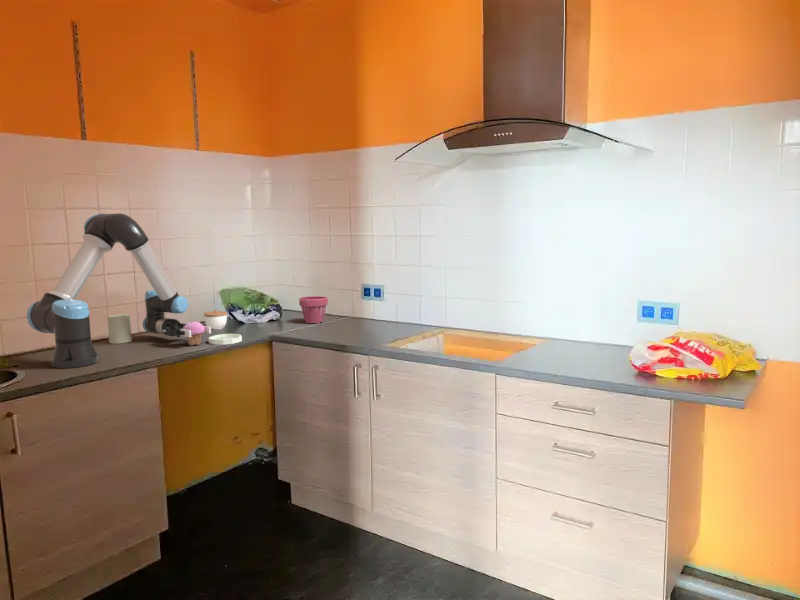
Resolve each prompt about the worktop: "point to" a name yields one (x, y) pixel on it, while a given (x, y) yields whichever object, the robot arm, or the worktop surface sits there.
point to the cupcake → (194, 332)
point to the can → (119, 328)
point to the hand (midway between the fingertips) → (200, 332)
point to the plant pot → (313, 308)
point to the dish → (225, 339)
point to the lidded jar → (215, 319)
